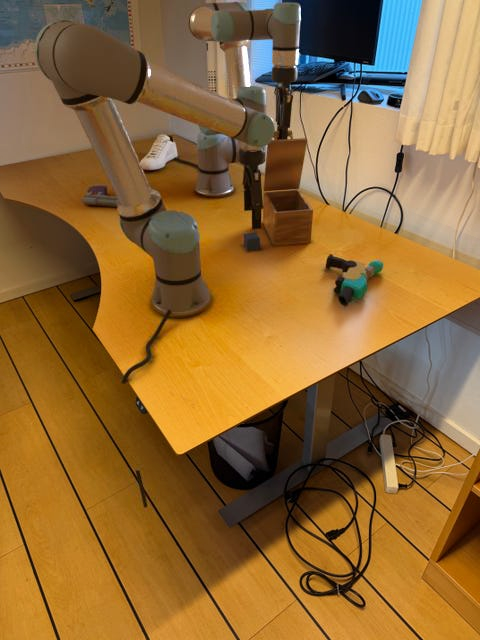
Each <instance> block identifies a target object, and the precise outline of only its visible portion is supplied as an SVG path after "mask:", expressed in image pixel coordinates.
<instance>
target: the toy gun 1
mask: <svg viewBox="0 0 480 640" xmlns="http://www.w3.org/2000/svg"><path fill="white" fill-rule="evenodd" d="M108 189H109V188H108V185H106V184H94V185H91V186H89V187H88V189H87V191H86V192H87V193H86V194H84V195H83V198H82V200H81V202H82V204H83V205H87V206H89V205H90V206H101V207H112V208H113V207H114V208H117V207H118V204H119V200H118V198H117V196H116V195H115V196H113V195H110V196H109V195H108V192H109V190H108Z"/></svg>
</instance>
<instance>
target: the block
mask: <svg viewBox="0 0 480 640" xmlns="http://www.w3.org/2000/svg"><path fill="white" fill-rule="evenodd" d="M243 247H244V249H245V250H246V252H254V251H259V250H260V251H261V237H260V235H259V234H258V232H257V231H254V232H246V233H243Z"/></svg>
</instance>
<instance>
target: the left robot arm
mask: <svg viewBox="0 0 480 640" xmlns="http://www.w3.org/2000/svg"><path fill="white" fill-rule="evenodd" d="M33 49H34V57H35V61H36V63H37V66H38V68H39V70H40V71H41V73H42V74H43V75H44V76H45V77H46V78H47V79H48V80H49V81H51V82H52V85H53V87H54V89H55V91H56V93H57V95H58V96H59V97H58V98H59V99H60V101H61V102H62V104H63V106H65V107H67V108H69V109H71V110H73V111H74V113H75V115H76V117H77V120H78V121H79V123H80V125H81V127H82V129H83V131H84V133H85V135H86V137H87V139H88V141H89V144H90V145H91V148H92V149H93V152H94V154H95V155H96V158H97V159H98V161H99V164H100V166H101V168H102V170H103V173H104V174H105V176H106V178H107V180H108V182H109V184H110V186H111V188H112V190H113V193H114V194H115V197H117V198H118V200H119V204H118V207H116V213H117V214H118V216H119V226H120V228H121V231H122V232H123V234H124V236H125V237H126V238H127V239H128V240H129V241H130V242H131V243H133V244H135V245H136V246H137V247H138V248H140V249H141V250H142V251H143V252H145V253H146V255H148V256H149V257H151V258H152V260H153V261H152V262H153V268H154V274H155V275H154V276H155V281H154V284H153V290H152V294H151V305H152V308H153V310H154V311H155V312H156V313H157V314H159V315H160V316H163V317H162V319H161V321H160V323H159V324H158V326H157V328H156V330H155V331H154V333H153V335H152V336H151V338H149V340H148V341H147V342H146V344H145V352H146V357H145V358H144V359H143V360H142V361H140V362H138V363H136V364H134V365H133V366H131V367H129V369H127V370H126V372H125V373H124V375H123V376H122V379H121V384H123V385H125V384H126V383H127V381H128V379H129V377H130V375H131V374H132V373H134V372H135V371H136V370H137V369H139V368H141V367H144V366H145V365H146V364H147V363H149V361H150V360H151V358H152V351H151V345H152V344H153V343H154V342H155V340H156V339H158V336H159V334H161V333H160V332H161V331H162V329H163V327H164V326H165V324H166V322H167V320H168V318H171V319H183V318H185V319H186V318H190V317H194V316H196V315H199V314H201V313H202V312H204V311H205V310H207V308H208V307H209V306H210V303H211V292H210V290H209V288H208V285H207V282H206V281H205V278H204V277H203V275H202V262H201V261H202V259H201V247H200V246H201V243H200V240H201V236H200V230H199V226H198V222H197V220H196V218H194V217H193V216H192V215H190V214H189V213H187V212H184V211H178V210H174V209H173V210H171V209H170V210H167V208H166V205H165V203H164V201H163V198H162V196H161V194H160V192H159V191H157V190H156V189H152V187H151V186H150V183H149V181H148V178H147V176H146V174H145V170H143V169H142V166H141V164H140V162H141V161H140V159H139V157H138V155H137V152H136V150H135V148H134V146H133V143H132V140H131V138H130V136H129V134H128V132H127V129H126V126H125V124H124V122H123V119H122V117H121V115H120V112H119V110H118V108H117V105H116V102H115V101H114V100H116V101H118V102H122V103H124V104H127V105H134V104H136V103H139V104H142V105H145V106H148V107H150V108H152V109H155V110H158V111H160V112H163V113H166V114H169V115H171V116H174V117H177V118H179V119H182V120H184V121H186V122H190V123H192V124H195V125H197V126H198V129H199V130H200V132H202V133H203V134H204V135H206V136H211V135H214V136H215V135H217V134H223V135H225V136H228V137H231V138H234V139H236V140H238V147H239V148H240V149H239V162H238V163H240V164H241V165H243V174H242V183H241V184H242V186H243V211H244V212H247V211H249V212H250V211H251V230H261V229H262V210H263V186H262V173H261V170H260V169H259V166H260V165H263V164H265V163H266V152H267V149H266V150H265V148H264V147H265V146H266V145H268V144H269V143H270V142H271V140H273V139H274V138H273V136H274V132H275V131H276V125H275V121H274V119H273V118H272V117H271V116H270V115H269V114H267V106H268V105H267V94H266V90H265V88H263V87H262V86H258V85H252V86H245V87H241V88H239V89H238V91H237V98H234V99H230V97H227V96H224V95H222V94H219V93H218V92H215V91H214V90H211V89H210V88H206V87H205V86H202V85H200V84H198V83H196V82H194V81H192V80H189V79H187V78H185V77H182V76H181V75H178V74H176V73H174V72H172V71H170V70H168V69H165V68H163V67H160V65H156V64H154V63H152V62H150V61H149V60H148V58H147V56H146V54H145V53H144V52H141V51H140V50H137V49H135V48H133V47H132V46H129V45H128V44H126V43H124V42H122V41H121V40H119V39H117V38H116V37H113V36H112V35H111V34H109V33H107V32H105V30H102V29H101V28H98V27H97V26H93V25H91V24H86V23H78V22H75V21H71V20H67V19H60V20H57V21H52V22H50V23H47V24H46V25H44V26H43V27H42V28H41V29H40V31H39V32H38V34H37V36H36V38H35V42H34V48H33ZM134 471H135V474H136V478H137V483H138V486H139V492H140V495H141V499H142V504H143V508H145V509H146V508H147V507H148V502H147V496H146V492H145V487H144V483H143V479H142V475H141V471H140V470H139V469H138V470H136V469H135V470H134Z"/></svg>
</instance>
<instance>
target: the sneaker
mask: <svg viewBox="0 0 480 640" xmlns="http://www.w3.org/2000/svg"><path fill="white" fill-rule="evenodd" d="M178 156H179V155H178V149H177V144H176V140H175V136H174V135H173V134H164V133H161V134H158V135H157V137H156V139H155V140H154V142H153V143H152V146H151V148H150V150H149V151H148V153H147V154H146V155H145V156H144V157H143V158H142V159H141V160H140V161H139V162H140V164H141V166H142V169H143V171H156V170H160V169H162V168H164V167H165V166H166V164H167V163H168V162H170V161H172V160H175V159H174V158H175V157H176V158H178Z"/></svg>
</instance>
